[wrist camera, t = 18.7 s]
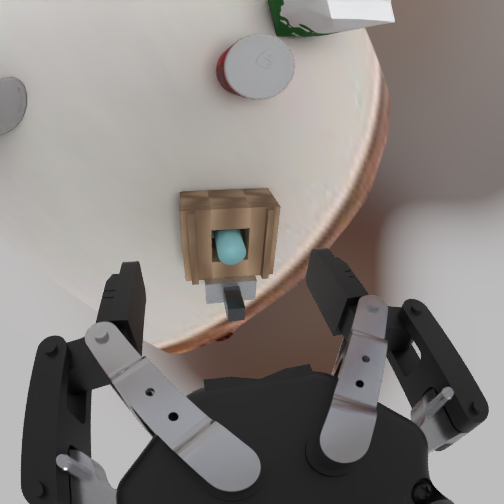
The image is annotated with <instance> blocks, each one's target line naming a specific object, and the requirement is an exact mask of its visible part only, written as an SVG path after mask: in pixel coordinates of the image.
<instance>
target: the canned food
mask: <svg viewBox="0 0 504 504" xmlns="http://www.w3.org/2000/svg"><path fill="white" fill-rule="evenodd" d="M294 69H295V63H294V58H293V54H292V52H291V50H290V49H289V47H288V46H287V45H286V44H285V43H284V42H283V41H281V40H280V39H278V38H276V37H274V36H271V35H267V34H254V35H250V36H246V37H244V38H242V39H240V40H239V41H237V42H236V43H235V44H233V45H232V46H231V47H230V48H228V49H227V50H226V51H225V52H224V53H223V54H222V55H221V57H220V58H219V60H218V63H217V68H216V73H217V78H218V81H219V82H220V84H221V85H222V86H223V87H224V89H226V90H227V91H229V92H231V93H233V94H236V95H239V96H242V97H245V98H250V99H258V100H260V99H267V98H270V97H273V96H275V95H277V94H279V93H281V92H282V91H283V90H284V89H285V88H286V87H287V86H288V85H289V83H290V81H291V80H292V77H293V74H294Z"/></svg>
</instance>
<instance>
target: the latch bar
mask: <svg viewBox="0 0 504 504" xmlns="http://www.w3.org/2000/svg"><path fill="white" fill-rule="evenodd" d="M256 282H257V280H256V277H255V276H248V277H236V278H224V279H211V280H205V290H206V302H207V304H209V303H220V302H224V304H225V309H226V314H227V319H228V321H238V320H244V319H245V306H244V302H243V300H252V299H255V294H256Z"/></svg>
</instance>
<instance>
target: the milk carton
mask: <svg viewBox="0 0 504 504" xmlns="http://www.w3.org/2000/svg"><path fill="white" fill-rule="evenodd" d="M390 1H391V0H268V3H269V6H270V10H271V14H272V18H273V22H274V26H275V30H276V34H277V36H296V37H306V36H322V35H328V34H333V33H338V32H343V31H349V30H355V29H360V28H365V27H369V26H374V25H379V24H386V23H393V22H395V20H394V15H393V11H392V7H391V2H390Z"/></svg>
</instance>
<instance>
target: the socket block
mask: <svg viewBox="0 0 504 504" xmlns="http://www.w3.org/2000/svg"><path fill="white" fill-rule="evenodd" d="M279 215H280V205H279V204H278V202H277V201H276V199H275V198H274V196H273V195H272V194H271V192H270V191H269V189H268V188H265V189H230V190H207V191H189V192H180V223H181V236H182V247H183V258H184V268H185V278H186V281H192V285H195V284H199V280H207V279H219V278H231V277H243V276H255V275H261V277H262V279H266V278H268V276H269V274H273V267H274V259H275V250H276V242H277V233H278V224H279ZM228 229H240V234H241V237H242V240H243V243H244V246H245V248H246V255H245V257H244V259H243V260H242V261H241V262H239V263H237V264H234V265H227V264H224V263H223V262H221V261H220V259H219V257H218V252H217V247H216V242H215V238H211V230H228Z"/></svg>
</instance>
